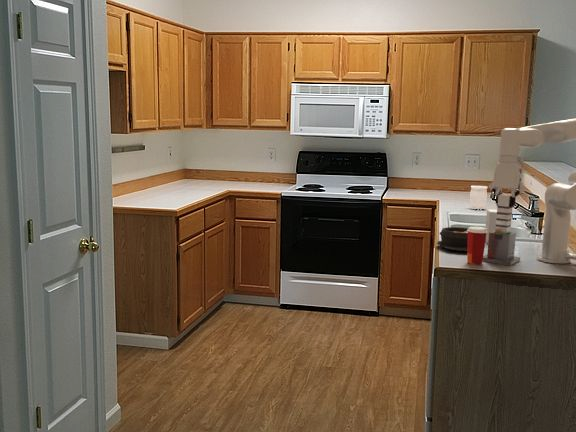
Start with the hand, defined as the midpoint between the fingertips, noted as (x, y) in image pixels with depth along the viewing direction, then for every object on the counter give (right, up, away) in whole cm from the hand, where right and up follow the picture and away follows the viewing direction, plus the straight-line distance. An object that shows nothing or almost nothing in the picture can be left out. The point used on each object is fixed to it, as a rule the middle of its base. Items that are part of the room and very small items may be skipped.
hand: (505, 205), depth 248 cm
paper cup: (-13, -23, -2) cm, 26 cm away
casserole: (-11, -19, +26) cm, 34 cm away
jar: (+36, 0, +156) cm, 160 cm away
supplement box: (+10, -17, +42) cm, 47 cm away
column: (0, -14, +2) cm, 14 cm away
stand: (-1, -22, +3) cm, 22 cm away
